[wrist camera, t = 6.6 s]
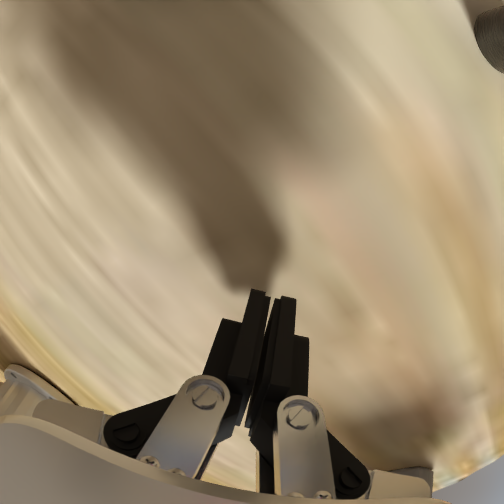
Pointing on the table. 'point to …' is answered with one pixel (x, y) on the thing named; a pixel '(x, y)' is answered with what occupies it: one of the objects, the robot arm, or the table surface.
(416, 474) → the coffeepot
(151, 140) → the table surface
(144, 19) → the table surface
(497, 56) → the post
